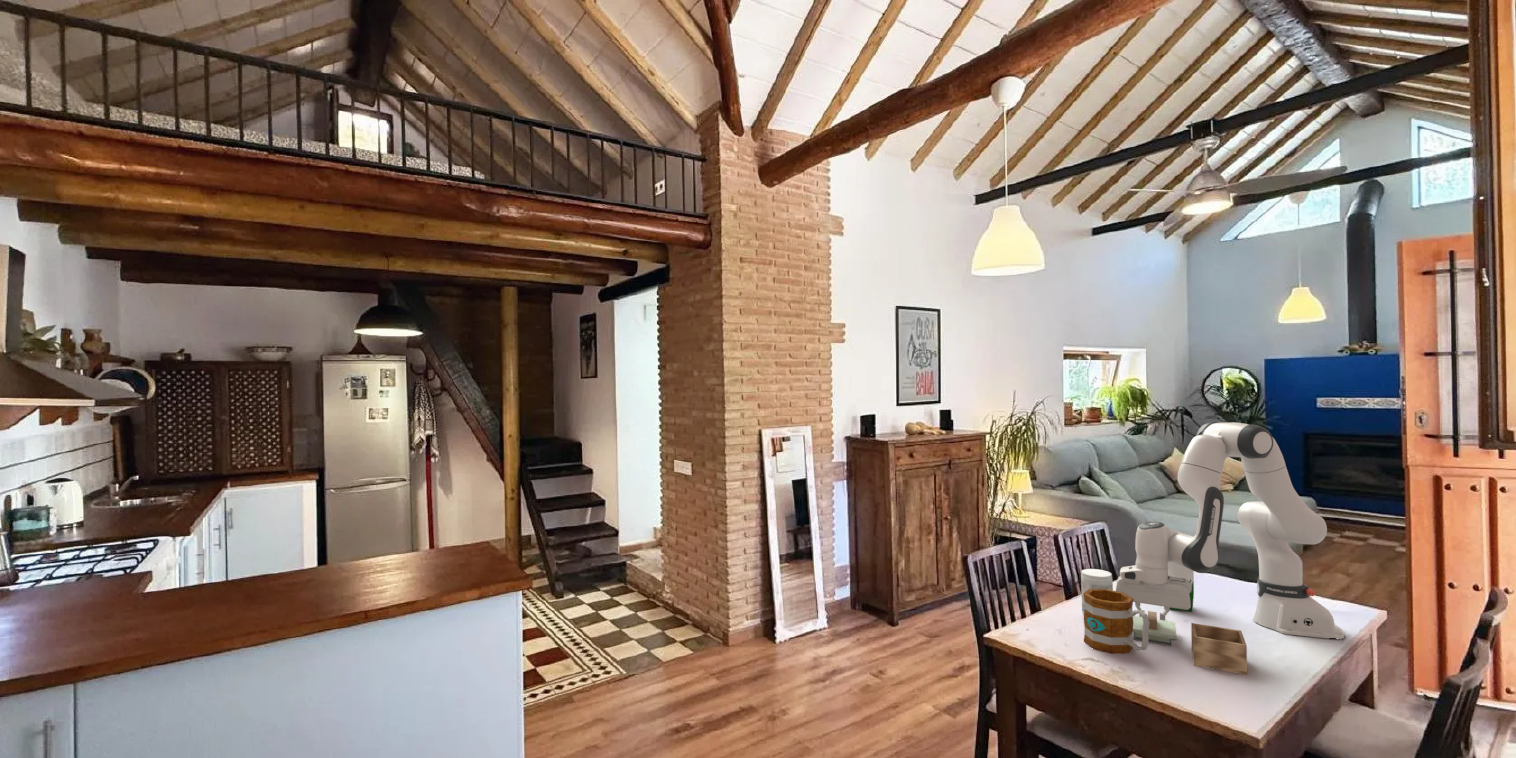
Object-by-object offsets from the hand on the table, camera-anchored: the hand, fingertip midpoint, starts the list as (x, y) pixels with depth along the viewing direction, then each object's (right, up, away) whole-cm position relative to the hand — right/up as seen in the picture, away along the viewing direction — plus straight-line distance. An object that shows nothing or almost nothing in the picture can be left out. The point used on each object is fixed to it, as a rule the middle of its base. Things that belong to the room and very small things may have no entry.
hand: (1152, 618), depth 204 cm
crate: (+8, -6, -19) cm, 21 cm away
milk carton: (+24, -5, +24) cm, 34 cm away
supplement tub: (-8, -6, +18) cm, 20 cm away
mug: (-16, -6, -9) cm, 19 cm away
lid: (0, -3, 0) cm, 3 cm away
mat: (0, -6, 0) cm, 6 cm away
